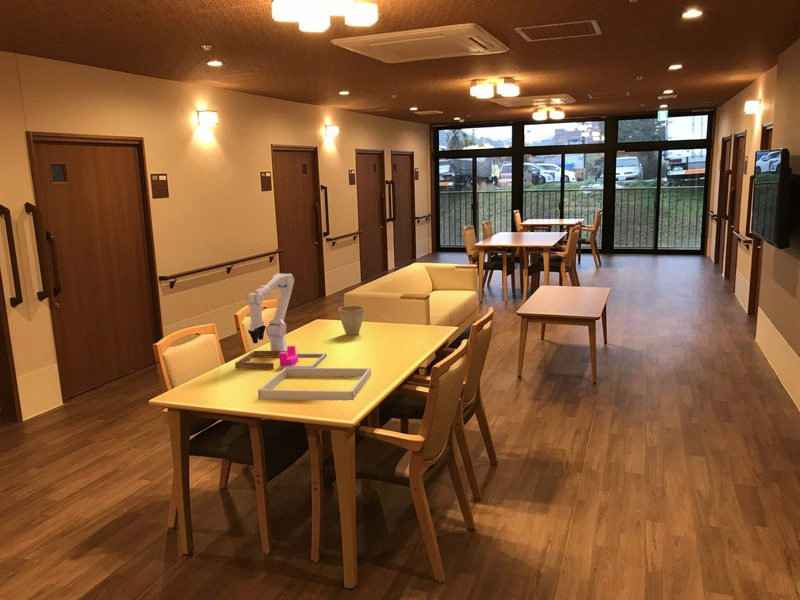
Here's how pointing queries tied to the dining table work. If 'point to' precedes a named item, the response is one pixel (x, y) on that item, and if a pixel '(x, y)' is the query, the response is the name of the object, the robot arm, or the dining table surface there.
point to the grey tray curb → (268, 393)
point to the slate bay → (308, 356)
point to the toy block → (288, 357)
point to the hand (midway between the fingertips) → (258, 341)
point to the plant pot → (351, 319)
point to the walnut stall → (244, 365)
